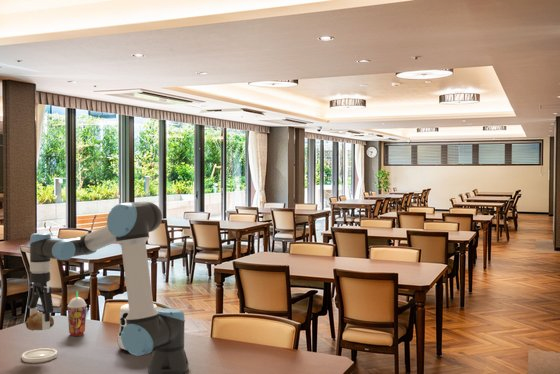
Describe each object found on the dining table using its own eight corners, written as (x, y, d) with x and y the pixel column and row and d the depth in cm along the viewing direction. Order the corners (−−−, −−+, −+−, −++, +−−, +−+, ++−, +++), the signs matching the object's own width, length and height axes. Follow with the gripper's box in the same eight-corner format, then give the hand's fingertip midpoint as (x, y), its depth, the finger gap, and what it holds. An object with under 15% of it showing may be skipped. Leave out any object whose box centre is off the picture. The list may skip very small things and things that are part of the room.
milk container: (167, 347, 240) (168, 305, 239) (136, 357, 226) (137, 313, 225) (140, 339, 250) (140, 299, 249) (108, 349, 235) (109, 307, 235)
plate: (63, 357, 225) (63, 353, 225) (31, 365, 215) (31, 361, 215) (47, 350, 234) (47, 346, 234) (16, 357, 224) (16, 353, 224)
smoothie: (66, 333, 258) (66, 290, 258) (85, 331, 262) (85, 288, 261) (67, 338, 251) (68, 293, 250) (87, 336, 254) (87, 292, 254)
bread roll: (38, 340, 219) (46, 322, 218) (17, 327, 220) (25, 310, 219) (53, 333, 228) (61, 316, 227) (33, 321, 230) (41, 304, 229)
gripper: (63, 274, 219) (62, 330, 219) (36, 266, 234) (36, 319, 234) (44, 276, 213) (43, 334, 214) (18, 269, 228) (18, 322, 229)
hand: (39, 326), depth 224 cm, fingers closed on bread roll, 10 cm apart
